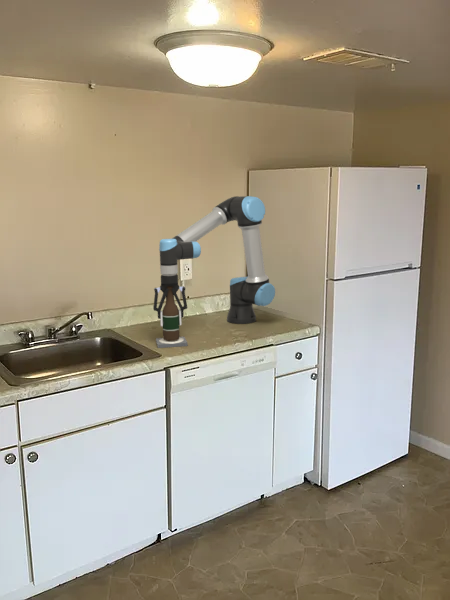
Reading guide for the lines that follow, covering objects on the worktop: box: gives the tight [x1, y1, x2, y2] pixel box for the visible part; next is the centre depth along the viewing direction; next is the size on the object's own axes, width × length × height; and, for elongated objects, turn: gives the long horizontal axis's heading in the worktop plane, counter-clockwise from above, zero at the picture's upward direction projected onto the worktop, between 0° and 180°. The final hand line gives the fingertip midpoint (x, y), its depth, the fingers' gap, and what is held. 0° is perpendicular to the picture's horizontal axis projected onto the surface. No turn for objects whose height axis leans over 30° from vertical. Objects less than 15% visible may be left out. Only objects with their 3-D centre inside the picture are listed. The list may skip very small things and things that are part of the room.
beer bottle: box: [161, 286, 181, 341], centre depth 246 cm, size 8×8×24 cm
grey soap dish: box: [155, 336, 188, 349], centre depth 249 cm, size 13×11×2 cm
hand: (171, 325), depth 247 cm, fingers closed on beer bottle, 8 cm apart
